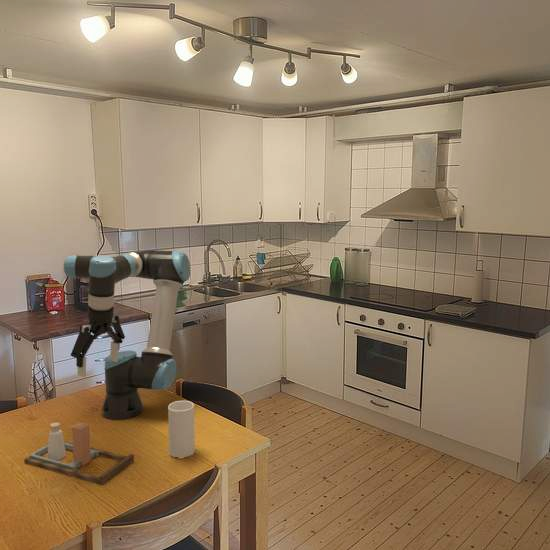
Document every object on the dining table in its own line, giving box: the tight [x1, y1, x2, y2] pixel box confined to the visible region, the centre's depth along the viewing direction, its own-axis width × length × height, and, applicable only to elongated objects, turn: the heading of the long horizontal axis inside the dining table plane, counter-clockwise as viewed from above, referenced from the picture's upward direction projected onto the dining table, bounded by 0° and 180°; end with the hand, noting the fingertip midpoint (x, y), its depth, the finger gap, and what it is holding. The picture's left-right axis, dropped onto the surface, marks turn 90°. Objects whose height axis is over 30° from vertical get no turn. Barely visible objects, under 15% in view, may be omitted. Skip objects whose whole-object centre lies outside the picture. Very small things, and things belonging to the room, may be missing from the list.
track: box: [24, 440, 135, 486], centre depth 158 cm, size 31×14×2 cm, turn 67°
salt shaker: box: [47, 422, 67, 461], centre depth 161 cm, size 5×5×11 cm
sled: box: [28, 422, 100, 471], centre depth 160 cm, size 18×11×12 cm, turn 67°
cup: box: [167, 400, 196, 458], centre depth 164 cm, size 8×8×16 cm
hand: (98, 367), depth 163 cm, fingers open, 13 cm apart
